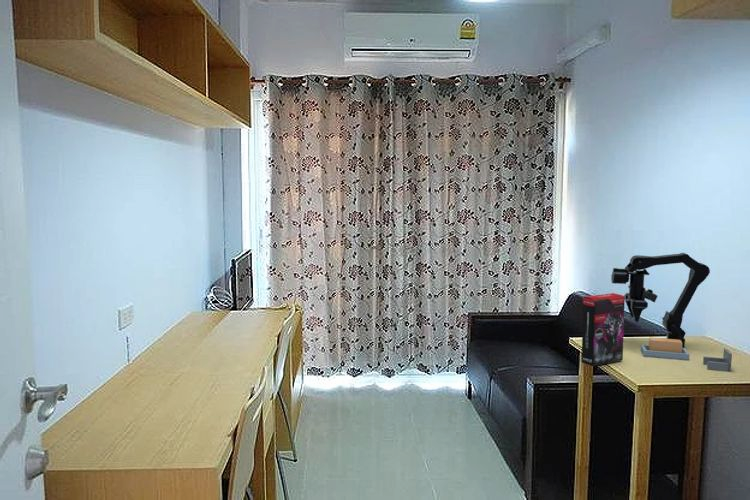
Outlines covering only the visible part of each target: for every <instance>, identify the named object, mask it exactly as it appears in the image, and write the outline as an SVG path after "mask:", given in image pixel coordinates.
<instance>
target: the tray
mask: <svg viewBox="0 0 750 500" xmlns="http://www.w3.org/2000/svg"><path fill="white" fill-rule="evenodd" d="M648 348H649V344H640V351H641V353H642V356H643V357H645V358H658V359H667V360H678V361H690V353H689V351H688V350H687V349H686V348H682V353H673V352H661V351H649V350H648Z"/></svg>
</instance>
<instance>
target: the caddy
mask: <svg viewBox="0 0 750 500" xmlns="http://www.w3.org/2000/svg"><path fill="white" fill-rule="evenodd" d="M648 345H649V348H648V350H649V351H661V352H673V353H682V342H681V340H677V339H667V338H664V337H663V338H662V337H652V336H651V337H650V336H649V337H648Z"/></svg>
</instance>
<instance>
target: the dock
mask: <svg viewBox="0 0 750 500" xmlns="http://www.w3.org/2000/svg"><path fill="white" fill-rule="evenodd" d="M722 354H723V356H722V357H716V356H715V357H714V356H703V358H702V359H703V360H702V364H703V365H706V369H707V370H708V371H721V372H729V373H730V372H732V371H731V369H732V357H733V354H732V352H731V351H730V350H729V349H728V348H727V347H726V348H723V353H722Z"/></svg>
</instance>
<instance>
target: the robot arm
mask: <svg viewBox="0 0 750 500" xmlns="http://www.w3.org/2000/svg"><path fill="white" fill-rule="evenodd" d="M673 264H683V265H685V266H686V267H687V268H689V269H690V270H689V273H688V278H687V279H688V280H687V282H686V284H685V286H684V288H683V290H682V291H681V294H680V295H679V297H678V299H677V300H676V303H675V305H674V306H673V308H672V309H671V310H670V311H668V310H666V311H665V313H664V316H662V317H661V319H662V322H661V323H662V326H663V327H664V329H666V332H667V333H666V339H677V340H681V342H682V348H685V347H686V339H685V336H686V331H685V330H684V329H683V328H682V327H681V326H682V323H683V317H684V313H685V312H686V310H687V307H688V306H689V304H690V302H691V300H692V298H693V296H694V295H695V293H696V291H697V290H698V287H699V286H700V285H701V284H702V283H703V282H704V281H705V280H706V279H707V278H708V277H709V275H710V273H711V269H710V267H709V266H708V265H706V264H704V263H702V262H698V261H697V260H696V259H695V258H693V257H691V256H690V255H689V254H687V253H685V252H681V253H672V254H663V255H654V256H652V255H650V256H649V255H640V254H639V255H637V254H636V255H633V256H631V257H630V259H629V263H627V265H626V266H625V267H624V268H618V267H613V268H612V273H611V276H610V277H611V280H610V281H611V283H612V284H620V285H626V284H627V283H628V282H629V284H628V288H627V289H629V290H628V292H626V293H625V294H624V295H623V296H625V304H626V306H627V309H628V313H629V314H630V317H631V318H633V319H634V321H635V322H636V323H637V322H639V321H640V317H641V314H642V312H643V311H644V310H646V309H647V308H648V306H649V304H648V303H649V302H647V301H646V300H648V301H651V302H653V303H656V301H657V299H658V295H657V294H655V293H654V291H653V290H652V289H649V288H648V289H647V290H646V288H645V286H644V285H645V276H649V275H650V273H649V272H648V271H647V269H649V268H652V267H655V266H662V265H663V266H664V265H673ZM685 349H686V348H685Z"/></svg>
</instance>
